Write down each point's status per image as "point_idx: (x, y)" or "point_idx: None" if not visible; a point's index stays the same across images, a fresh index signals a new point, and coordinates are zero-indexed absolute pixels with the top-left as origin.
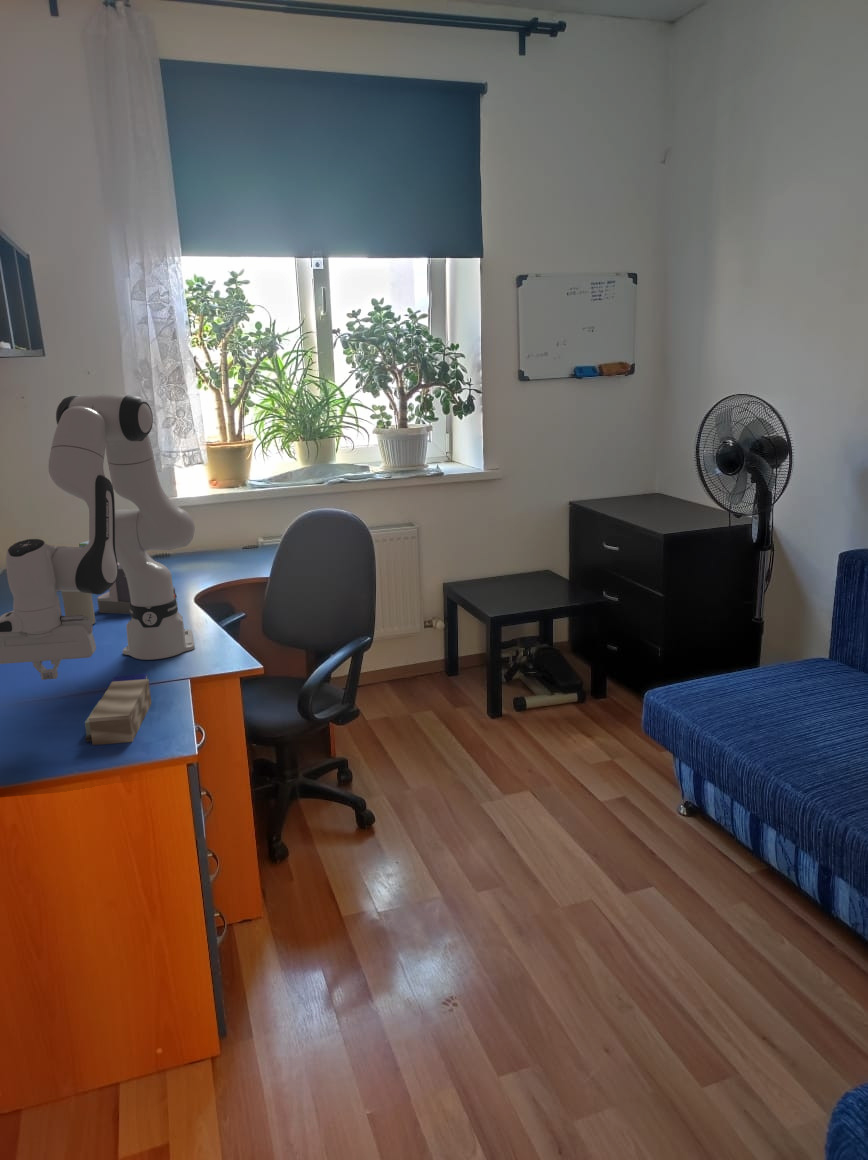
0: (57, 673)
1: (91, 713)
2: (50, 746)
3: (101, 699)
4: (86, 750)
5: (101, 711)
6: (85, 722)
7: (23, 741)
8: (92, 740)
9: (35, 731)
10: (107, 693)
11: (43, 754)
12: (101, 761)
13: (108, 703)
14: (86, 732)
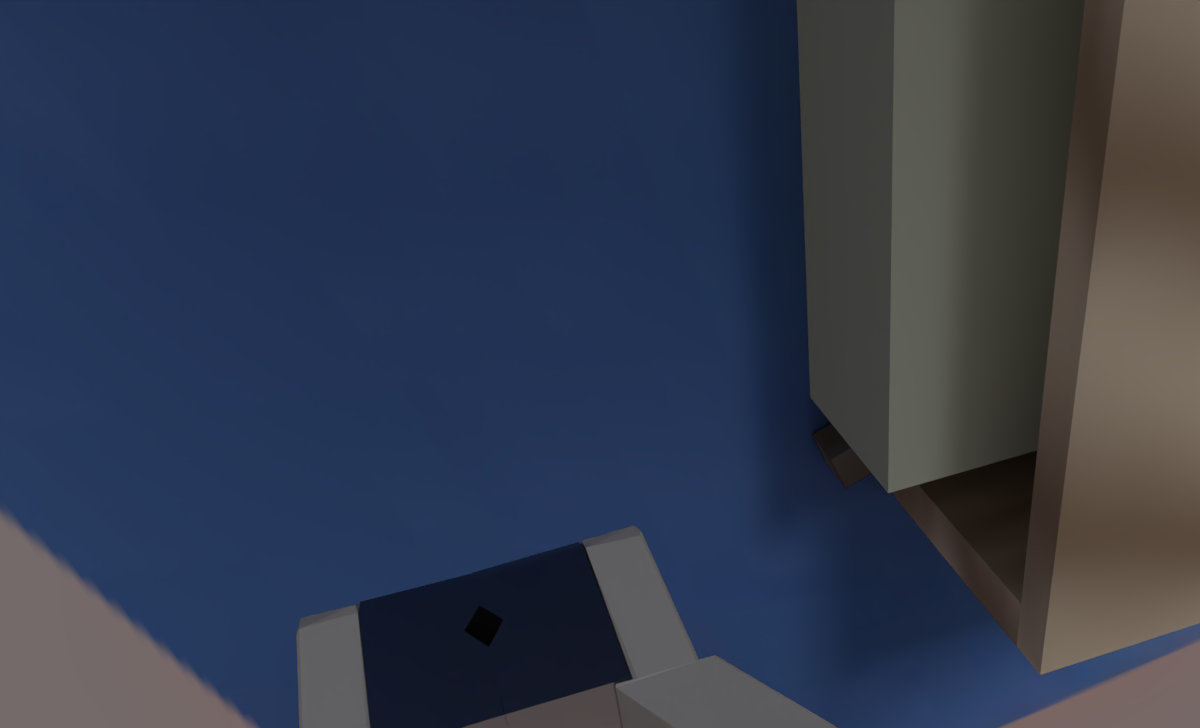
0: (653, 570)
1: (901, 285)
2: None
3: (1105, 229)
4: (867, 568)
5: (1140, 530)
6: (894, 486)
7: (200, 520)
8: (918, 520)
9: (166, 308)
10: (1166, 6)
11: None
12: (1006, 668)
13: (1198, 339)
14: (840, 429)
